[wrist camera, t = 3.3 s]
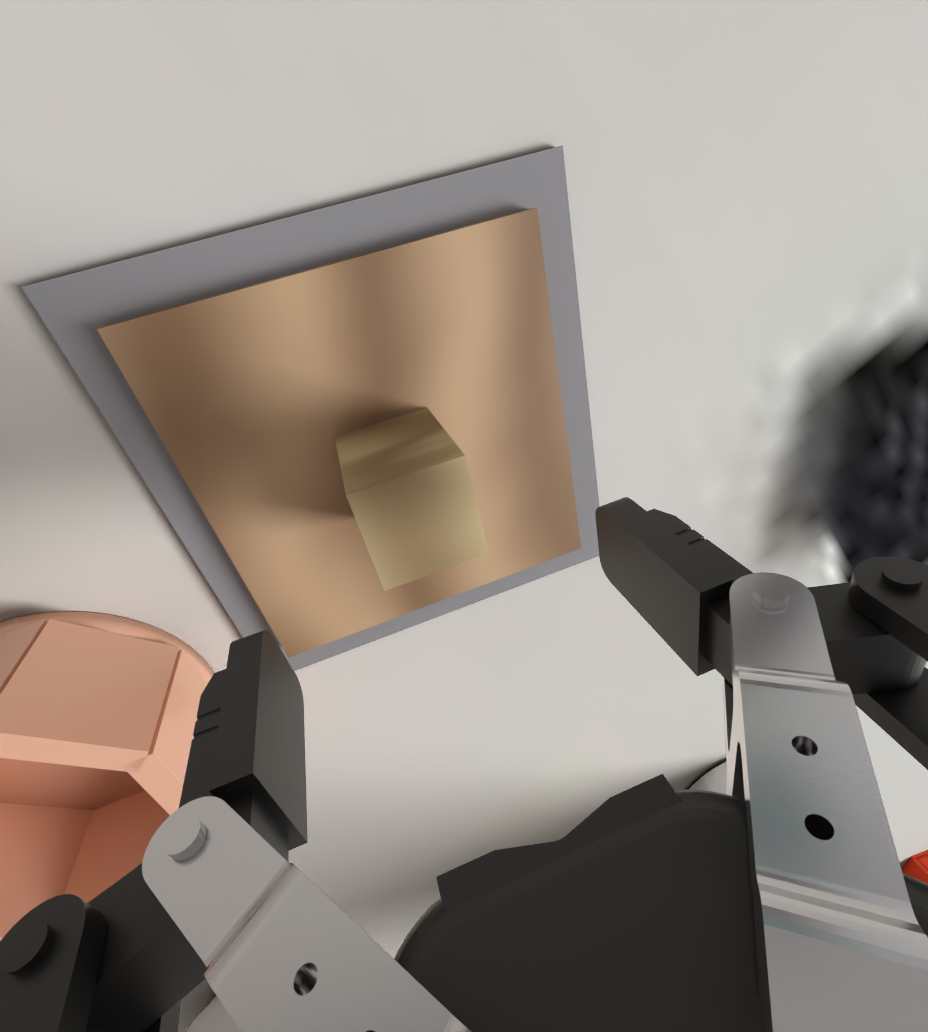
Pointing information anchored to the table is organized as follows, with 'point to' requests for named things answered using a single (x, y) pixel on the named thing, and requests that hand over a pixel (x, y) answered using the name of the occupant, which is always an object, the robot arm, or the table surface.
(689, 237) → the table surface
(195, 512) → the mat
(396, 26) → the table surface
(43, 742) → the bowl
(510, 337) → the lid
